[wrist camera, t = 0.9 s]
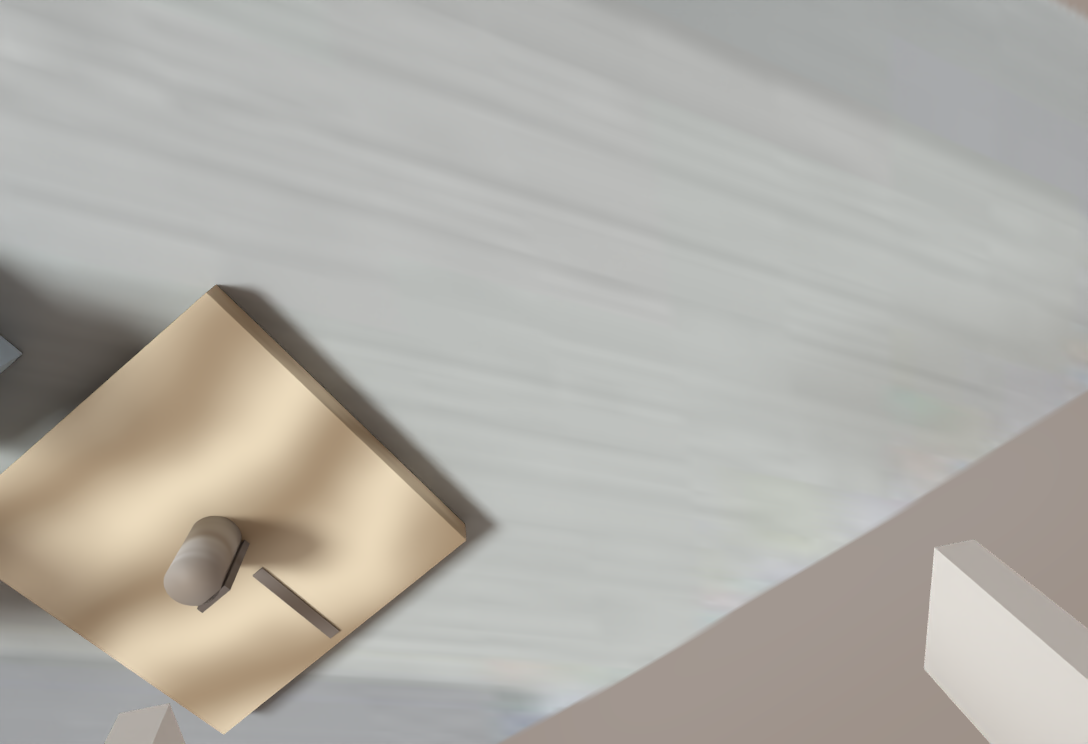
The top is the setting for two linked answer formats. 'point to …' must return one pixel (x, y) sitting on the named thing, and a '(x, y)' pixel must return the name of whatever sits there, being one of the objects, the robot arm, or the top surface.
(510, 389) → the top surface
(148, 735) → the robot arm
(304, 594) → the panel
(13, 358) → the knob
